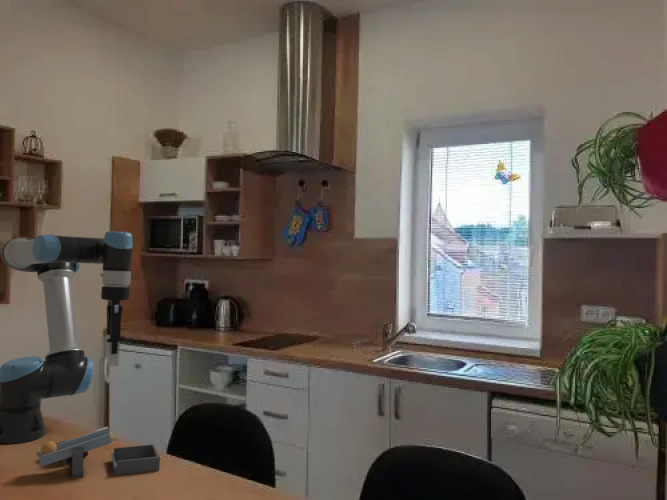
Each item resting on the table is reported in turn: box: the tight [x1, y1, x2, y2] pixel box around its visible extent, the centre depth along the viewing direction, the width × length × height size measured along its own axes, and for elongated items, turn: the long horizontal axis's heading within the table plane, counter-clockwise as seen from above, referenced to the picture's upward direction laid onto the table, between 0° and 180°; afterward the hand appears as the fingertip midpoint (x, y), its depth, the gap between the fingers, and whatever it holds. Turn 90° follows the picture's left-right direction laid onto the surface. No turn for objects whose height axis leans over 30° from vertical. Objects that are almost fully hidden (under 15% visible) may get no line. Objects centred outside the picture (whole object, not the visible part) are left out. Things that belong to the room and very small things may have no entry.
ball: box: [40, 441, 57, 455], centre depth 142 cm, size 4×4×4 cm
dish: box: [110, 443, 161, 476], centre depth 151 cm, size 11×11×4 cm
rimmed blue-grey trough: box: [38, 426, 112, 468], centre depth 148 cm, size 12×17×2 cm
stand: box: [69, 447, 84, 479], centre depth 145 cm, size 9×3×7 cm, turn 25°
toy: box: [54, 437, 89, 466], centre depth 156 cm, size 9×6×15 cm
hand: (111, 361), depth 159 cm, fingers open, 12 cm apart
